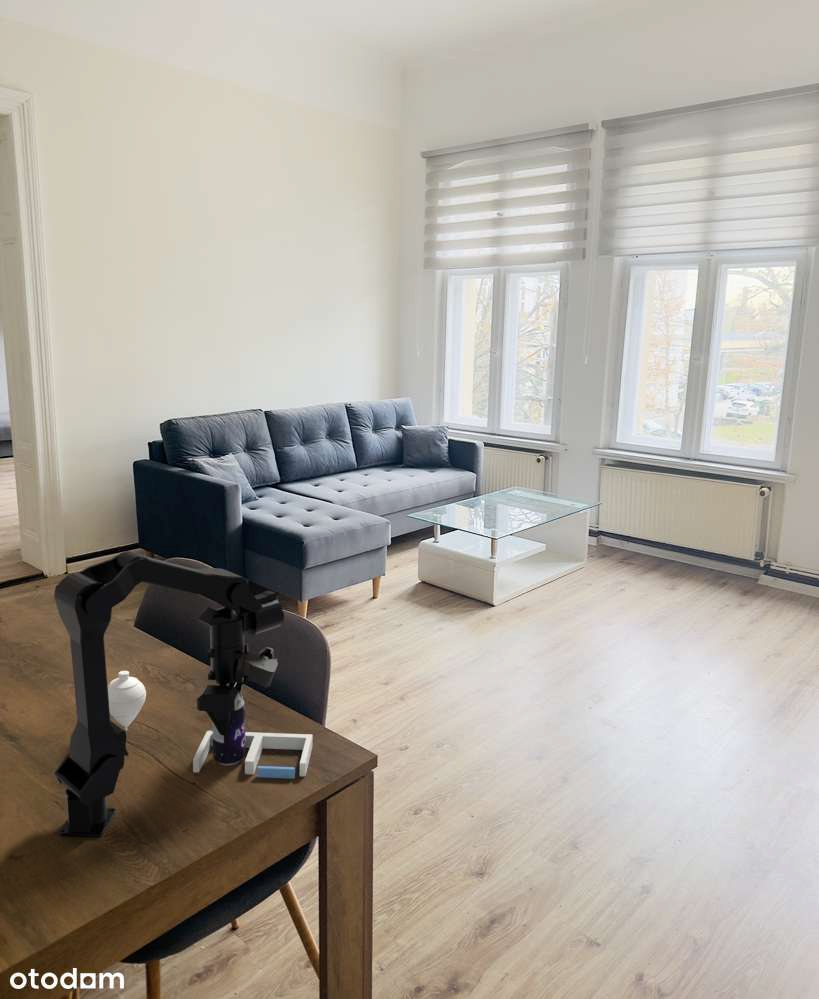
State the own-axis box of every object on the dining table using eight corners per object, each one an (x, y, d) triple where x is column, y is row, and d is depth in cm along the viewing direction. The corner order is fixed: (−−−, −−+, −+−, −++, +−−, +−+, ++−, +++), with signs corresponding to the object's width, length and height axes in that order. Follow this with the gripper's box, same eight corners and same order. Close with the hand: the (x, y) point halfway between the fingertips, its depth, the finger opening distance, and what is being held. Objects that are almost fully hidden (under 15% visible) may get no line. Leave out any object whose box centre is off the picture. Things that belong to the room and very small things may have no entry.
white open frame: (304, 779, 137) (304, 766, 136) (192, 774, 137) (191, 761, 136) (312, 746, 147) (312, 734, 147) (207, 742, 147) (207, 730, 147)
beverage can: (237, 770, 139) (236, 707, 136) (207, 765, 140) (206, 703, 137) (250, 753, 144) (249, 692, 142) (221, 748, 145) (220, 688, 143)
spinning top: (102, 743, 146) (99, 683, 143) (106, 722, 153) (103, 665, 150) (146, 738, 148) (144, 679, 145) (148, 718, 155) (146, 661, 152)
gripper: (264, 666, 128) (264, 753, 131) (282, 623, 146) (282, 700, 150) (195, 664, 128) (197, 751, 131) (222, 620, 146) (223, 698, 150)
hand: (228, 723), depth 141 cm, fingers open, 7 cm apart
